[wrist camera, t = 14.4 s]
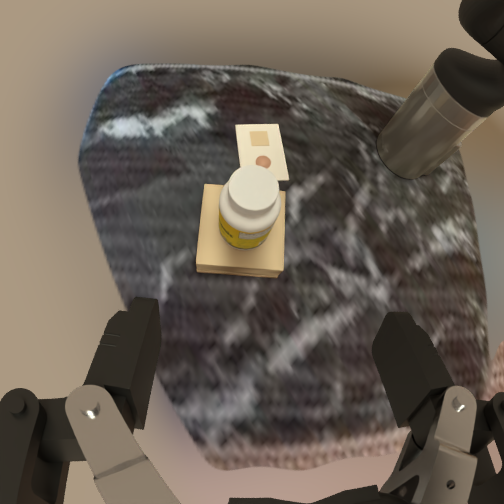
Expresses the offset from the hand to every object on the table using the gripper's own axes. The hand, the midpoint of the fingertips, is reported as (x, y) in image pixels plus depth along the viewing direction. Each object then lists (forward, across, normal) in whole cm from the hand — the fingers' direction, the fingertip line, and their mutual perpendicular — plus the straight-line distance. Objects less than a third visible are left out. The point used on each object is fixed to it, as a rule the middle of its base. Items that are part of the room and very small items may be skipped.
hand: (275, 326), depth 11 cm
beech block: (+26, 0, +10) cm, 28 cm away
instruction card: (+34, -2, +2) cm, 34 cm away
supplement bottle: (+23, 0, +8) cm, 24 cm away
